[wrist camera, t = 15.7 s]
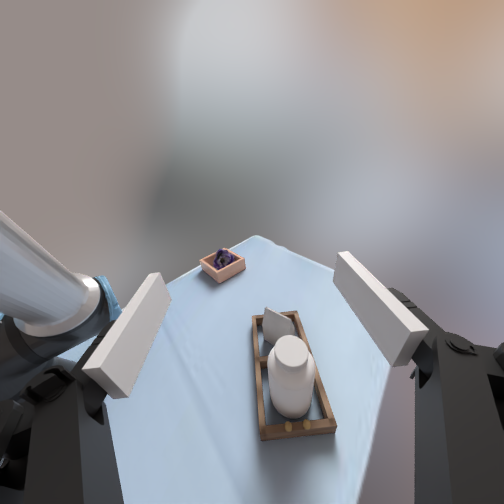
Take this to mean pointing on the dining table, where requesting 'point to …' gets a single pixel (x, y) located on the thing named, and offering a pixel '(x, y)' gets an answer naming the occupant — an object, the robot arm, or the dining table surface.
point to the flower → (223, 259)
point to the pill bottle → (291, 376)
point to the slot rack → (329, 421)
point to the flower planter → (224, 272)
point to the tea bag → (276, 326)
